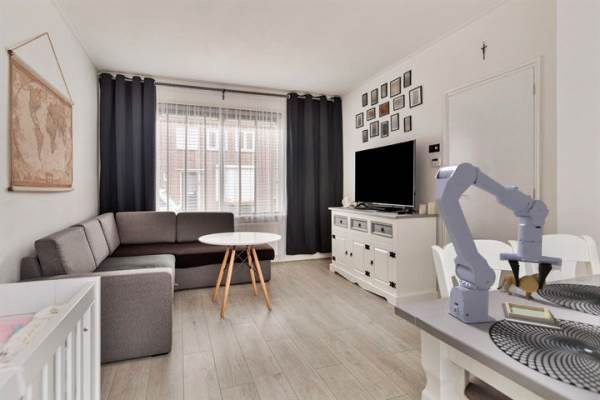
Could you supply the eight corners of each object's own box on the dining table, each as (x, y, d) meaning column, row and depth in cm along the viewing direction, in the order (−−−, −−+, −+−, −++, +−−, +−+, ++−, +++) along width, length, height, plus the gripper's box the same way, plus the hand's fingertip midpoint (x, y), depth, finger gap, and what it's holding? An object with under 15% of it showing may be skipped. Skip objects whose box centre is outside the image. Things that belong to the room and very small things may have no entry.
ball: (528, 295, 89) (529, 278, 89) (514, 290, 94) (514, 273, 94) (543, 294, 90) (543, 277, 90) (528, 289, 95) (528, 273, 95)
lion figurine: (548, 300, 105) (549, 273, 104) (542, 303, 101) (543, 276, 101) (499, 289, 116) (500, 265, 116) (493, 291, 113) (493, 266, 113)
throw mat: (561, 331, 81) (561, 326, 81) (506, 321, 87) (506, 316, 87) (548, 311, 95) (549, 306, 95) (501, 304, 101) (501, 300, 101)
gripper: (558, 240, 92) (556, 287, 92) (499, 237, 99) (498, 280, 99) (564, 244, 85) (563, 294, 86) (501, 240, 92) (499, 286, 93)
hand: (528, 287), depth 92 cm, fingers closed on ball, 5 cm apart
